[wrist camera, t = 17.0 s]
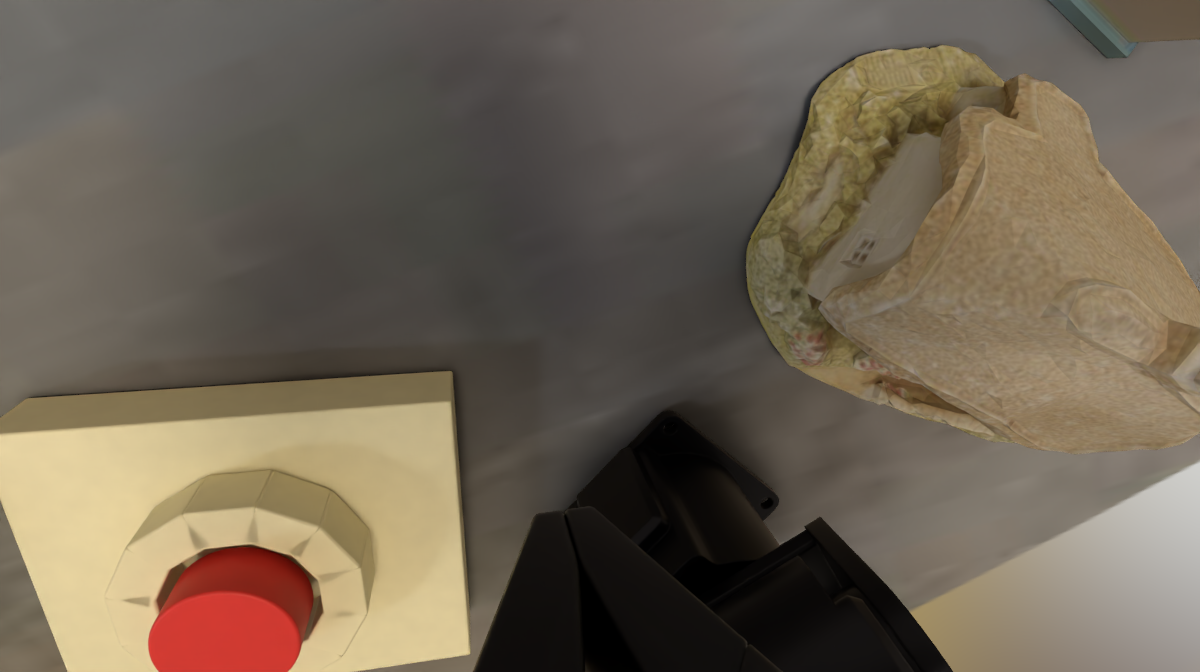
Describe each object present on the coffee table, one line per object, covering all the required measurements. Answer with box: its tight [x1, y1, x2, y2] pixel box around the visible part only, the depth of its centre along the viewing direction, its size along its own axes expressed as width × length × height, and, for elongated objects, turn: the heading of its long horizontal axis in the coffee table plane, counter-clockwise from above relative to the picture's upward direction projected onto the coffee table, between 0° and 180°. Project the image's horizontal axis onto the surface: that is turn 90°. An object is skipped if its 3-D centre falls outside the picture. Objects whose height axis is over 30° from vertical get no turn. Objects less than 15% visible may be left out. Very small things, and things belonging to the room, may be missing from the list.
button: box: [148, 547, 314, 672], centre depth 17 cm, size 4×4×2 cm
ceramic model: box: [746, 45, 1200, 454], centre depth 18 cm, size 14×11×10 cm
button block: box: [0, 371, 471, 672], centre depth 20 cm, size 12×10×4 cm
